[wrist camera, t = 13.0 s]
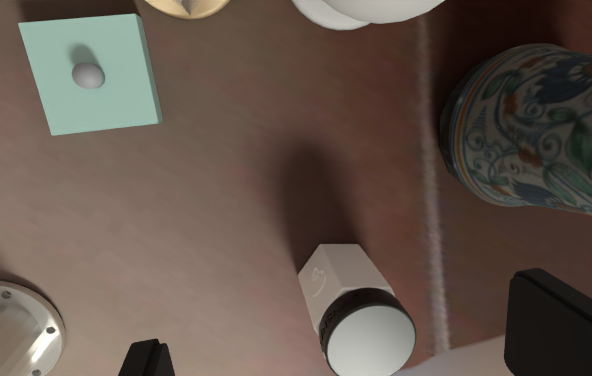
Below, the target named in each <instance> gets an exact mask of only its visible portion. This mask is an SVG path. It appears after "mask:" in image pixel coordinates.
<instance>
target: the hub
mask: <svg viewBox="0 0 592 376" xmlns="http://www.w3.org/2000/svg"><path fill="white" fill-rule="evenodd" d="M145 1H146V2H148V3H149V4H150V5H151V6H152V7H154V8H155V9H157V10H158V11H160V12H162V13H164V14H166V15H168V16H171V17H174V18H178V19H184V20H196V19H202V18H206V17H209V16H211V15H213V14H215V13H217V12H218V11H220V10H221V9H222V8H223V7H225V6H226V5H227V4H228V2H229V1H230V0H201V1H200V2H199V4H198V5H197V7H196V8H195V9H194V11H193V12H192V14H191V15H189V14H188V13H186V12H185V11H184V10H183V9H182V8H180V7H179V6H178V5H177V4H176V3H175V2H173V1H172V0H145Z"/></svg>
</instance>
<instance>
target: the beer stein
mask: <svg viewBox="0 0 592 376" xmlns="http://www.w3.org/2000/svg"><path fill="white" fill-rule="evenodd" d="M439 147H440V150H441V153H442V155H443V158H444V161H445V164H446V166H447V169H448V172H449V173H450V174H451V175H453V176H454V177H455V178H456V179H457V180H458V181H459V182H460V183H461V184H462V185H463V186H465V187H466V188H467V189H468V190H469V191H471V192H472V193H473V194H475V195H476V196H477V197H479V198H481V199H482V200H485V201H487V202H490V203H493V204H496V205H500V206H508V207H516V206H525V205H534V206H543V207H549V208H555V209H561V210H566V211H573V212H577V213H581V214H586V215H591V216H592V54H586V53H579V52H574V51H570V50H568V49H566V48H564V47H560V46H557V45H554V44H547V43H536V44H526V45H521V46H517V47H514V48H511V49H509V50H506V51H504V52H502V53H500V54H498V55H495V56H493V57H491V58H488V59H486V60H484V61H481V62H480V63H479V64H477V65H476V66H475V67H473V68H472V69H471V70H469V71H468V72H467V73H466V75H465V76H464V77H463V78H462V80H461V81H460V82H459V83H458V84H457V86H456V87H455V88H454V89H453V90H452V92H451V93H450V95H449V98H448V100H447V102H446V105H445V107H444V109H443V112H442V114H441V117H440V135H439Z"/></svg>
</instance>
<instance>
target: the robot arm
mask: <svg viewBox="0 0 592 376" xmlns="http://www.w3.org/2000/svg"><path fill="white" fill-rule="evenodd" d="M64 344H65V329H64V326H63V322H62V320H61V318H60V316H59V314H58V312H57V311H56V310H55V309H54V307H53V306H52V305H51V304H50V303H49V302H48V301H47V300H46V299H44V298H43V297H42V296H41V295H39V294H37V293H36V292H34V291H32V290H30V289H28V288H26V287H23V286H20V285H18V284H14V283H9V282H5V281H0V376H45V375H46V374H47V373H48V372H49V371H50V370H51V369H52V368H53V366H54V365H55V363H56V362H57V360H58V359H59V357H60V355H61V353H62V351H63V348H64ZM504 360H505V363H506V365H507V367H508V368H509V370H510V371H511V372H512V373H513V374H514V375H515V376H592V299H591V298H589V297H588V296H586V295H584V294H583V293H581V292H579V291H578V290H576V289H574V288H573V287H571V286H569V285H568V284H566V283H564V282H563V281H561V280H559V279H558V278H556V277H554V276H553V275H551V274H549V273H548V272H546V271H544V270H543V269H540V268H533V269H528V270H523V271H518V272H516V273H515V275H514V278H512V279H511V280H510V287H509V299H508V312H507V324H506V336H505V349H504ZM118 376H175V373H174V369H173V365H172V361H171V357H170V353H169V349H168V346H167V344H166V343H163V344H160V343H159V341H158V339H151V340H146V341H140V342H135V343H133V344H131V346H130V348H129V351H128V353H127V355H126V358H125V360H124V363H123V365H122V367H121V370H120V372H119V375H118Z"/></svg>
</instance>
